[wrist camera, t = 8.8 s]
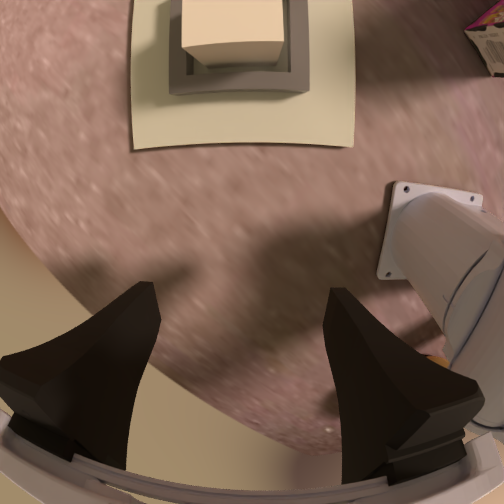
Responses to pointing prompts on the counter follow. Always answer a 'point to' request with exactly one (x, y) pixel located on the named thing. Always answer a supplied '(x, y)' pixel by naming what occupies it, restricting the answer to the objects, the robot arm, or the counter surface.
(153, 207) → the counter surface
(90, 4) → the counter surface
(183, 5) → the block
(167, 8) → the charging dock
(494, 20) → the candy bar box
